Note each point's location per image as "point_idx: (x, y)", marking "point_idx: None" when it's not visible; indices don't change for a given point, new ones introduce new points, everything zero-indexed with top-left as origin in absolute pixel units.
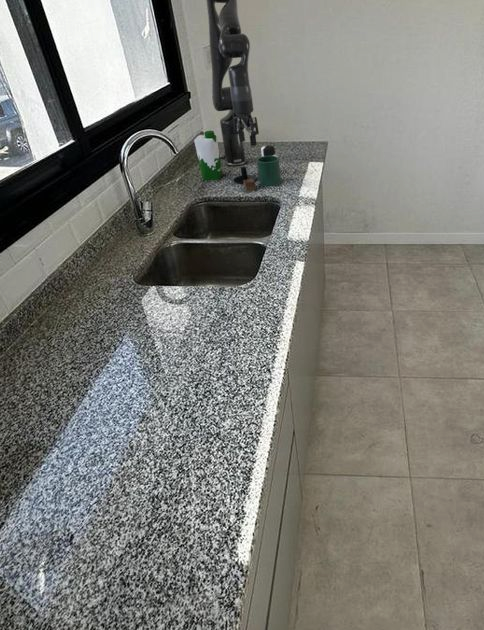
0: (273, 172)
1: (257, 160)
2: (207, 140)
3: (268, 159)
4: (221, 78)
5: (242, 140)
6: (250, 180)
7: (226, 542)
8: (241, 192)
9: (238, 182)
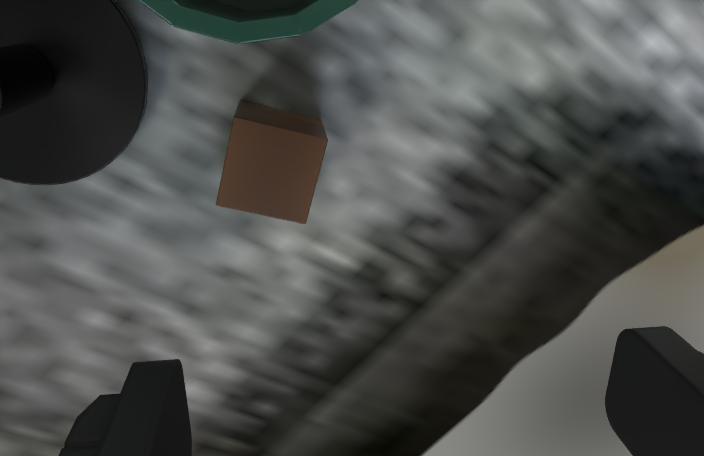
0: None
1: (191, 21)
2: None
3: None
4: None
5: (186, 422)
6: (274, 156)
7: None
8: (268, 224)
9: (86, 171)
